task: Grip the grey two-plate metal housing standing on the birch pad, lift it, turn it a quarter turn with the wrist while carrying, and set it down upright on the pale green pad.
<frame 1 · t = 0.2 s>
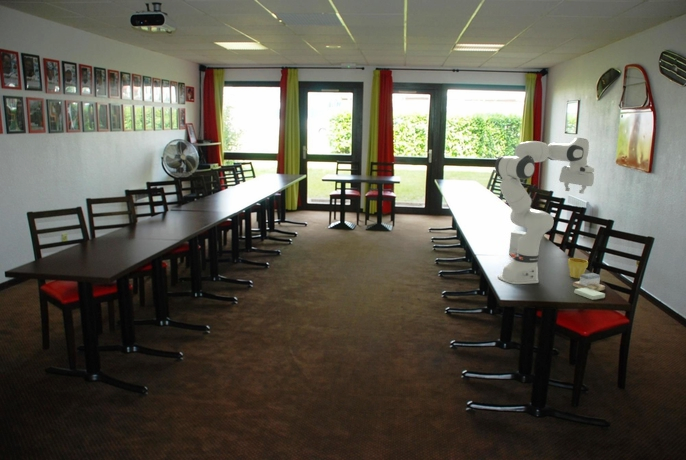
hand: (574, 192, 304), 47 cm above the table, tool pointing down, fingers open, 8 cm apart
stand a: (588, 287, 289), on the table
stand b: (589, 295, 276), on the table
supplement box: (517, 254, 354), on the table
housing: (589, 284, 288), point 2 cm above the table, touching stand a
plant pot: (576, 277, 308), on the table
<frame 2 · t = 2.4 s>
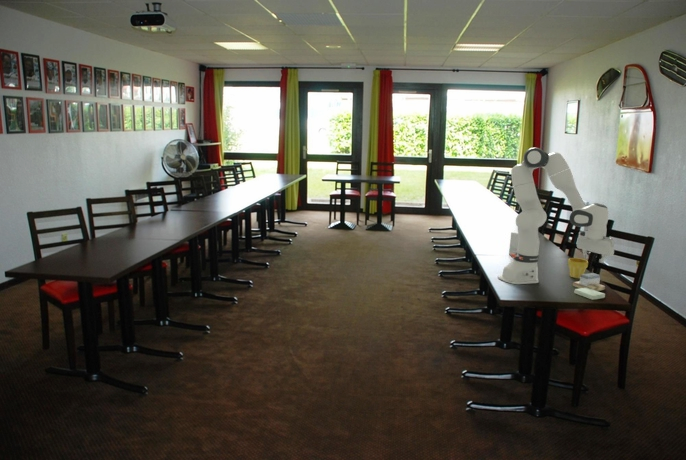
hand: (593, 260, 285), 15 cm above the table, tool pointing down, fingers open, 8 cm apart
nothing on the table moved.
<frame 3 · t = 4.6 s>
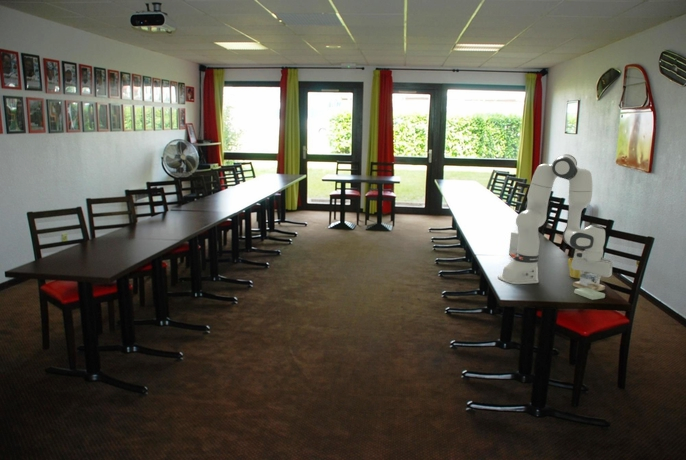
hand: (589, 281, 288), 4 cm above the table, tool pointing down, fingers closed on housing, 5 cm apart
housing: (589, 284, 288), point 2 cm above the table, touching gripper, stand a
everything else where it was.
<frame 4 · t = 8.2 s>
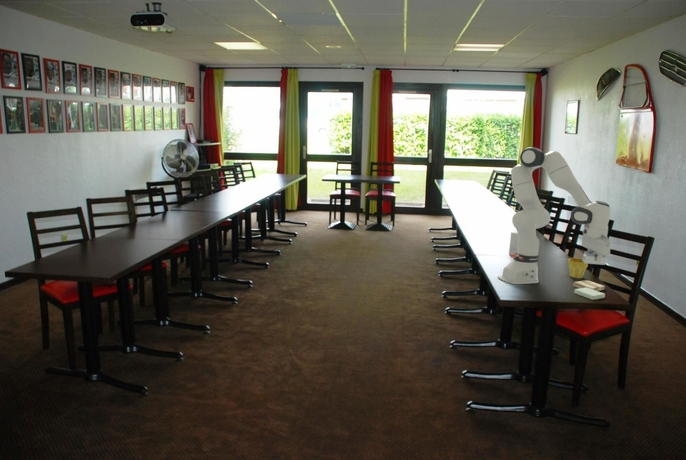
hand: (593, 259, 278), 17 cm above the table, tool pointing down, fingers closed on housing, 5 cm apart
housing: (593, 262, 279), point 15 cm above the table, touching gripper
everything else where it was.
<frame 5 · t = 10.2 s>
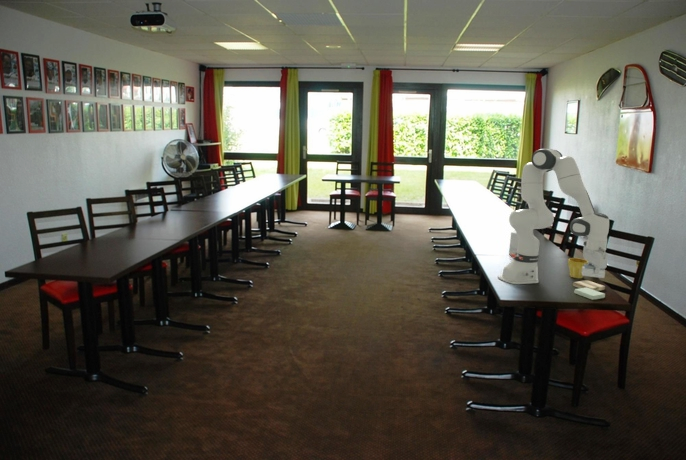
hand: (593, 272, 273), 12 cm above the table, tool pointing down, fingers closed on housing, 5 cm apart
housing: (592, 275, 273), point 10 cm above the table, touching gripper
everything else where it was.
when the fingers open (5 cm above the table, at t = 11.9 s): housing stays where it is, resting on stand b.
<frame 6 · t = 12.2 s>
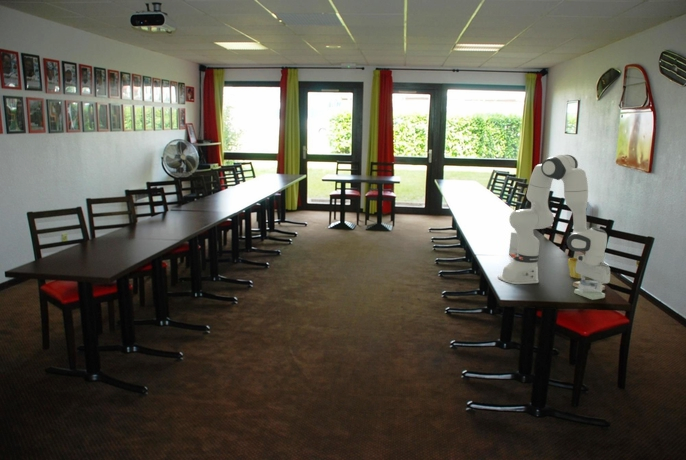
hand: (590, 286, 275), 5 cm above the table, tool pointing down, fingers open, 8 cm apart
housing: (589, 291, 275), point 2 cm above the table, touching stand b
everything else where it was.
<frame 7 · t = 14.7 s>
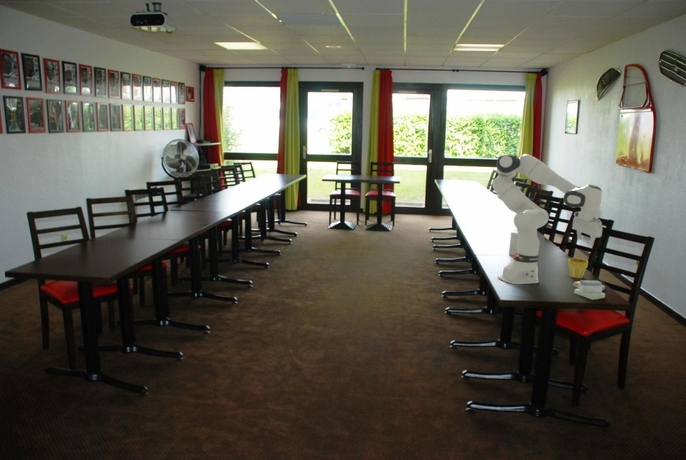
hand: (584, 241, 288), 24 cm above the table, tool pointing down, fingers open, 8 cm apart
nothing on the table moved.
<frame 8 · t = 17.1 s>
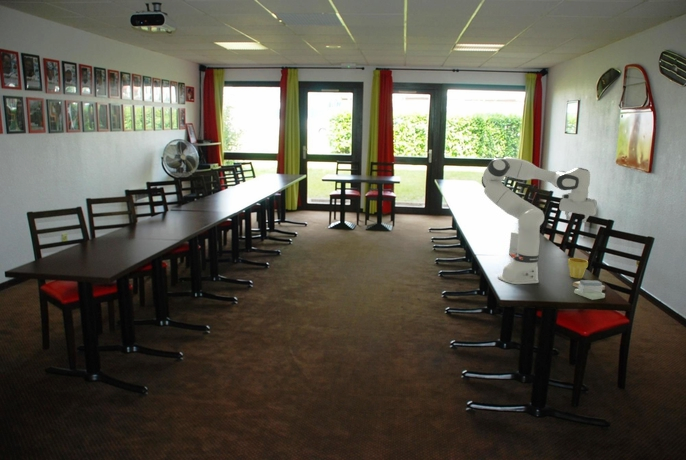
hand: (575, 221, 307), 31 cm above the table, tool pointing down, fingers open, 8 cm apart
nothing on the table moved.
at the end: housing inside the target area on the stand b (0.1 cm from its centre), point 2.0 cm above the stand b's base; housing tilted 0°; the gripper is holding nothing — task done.
